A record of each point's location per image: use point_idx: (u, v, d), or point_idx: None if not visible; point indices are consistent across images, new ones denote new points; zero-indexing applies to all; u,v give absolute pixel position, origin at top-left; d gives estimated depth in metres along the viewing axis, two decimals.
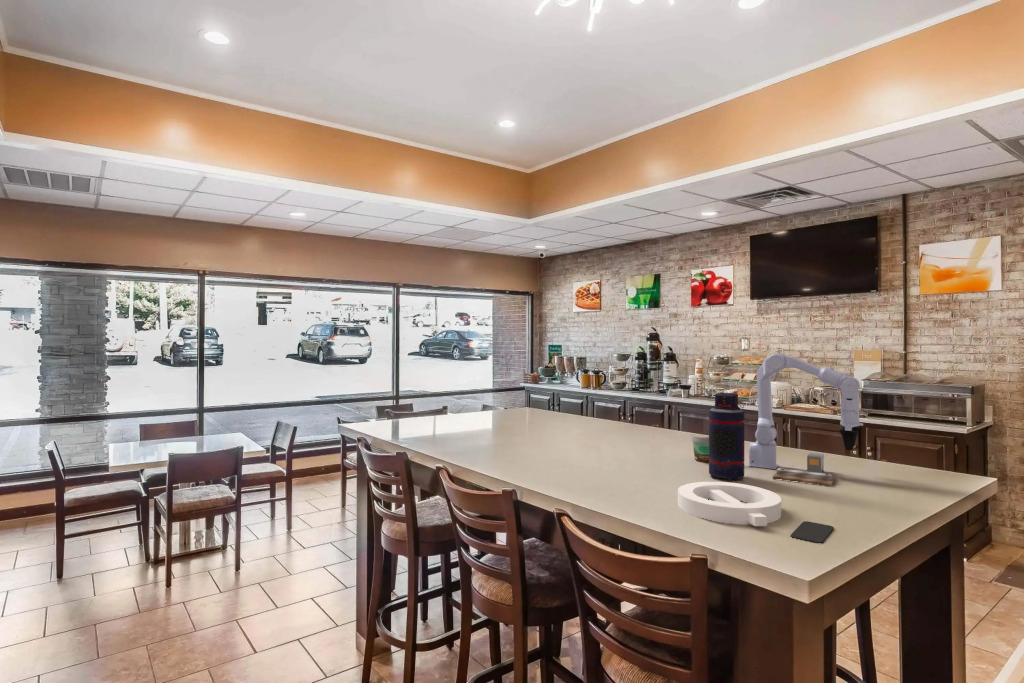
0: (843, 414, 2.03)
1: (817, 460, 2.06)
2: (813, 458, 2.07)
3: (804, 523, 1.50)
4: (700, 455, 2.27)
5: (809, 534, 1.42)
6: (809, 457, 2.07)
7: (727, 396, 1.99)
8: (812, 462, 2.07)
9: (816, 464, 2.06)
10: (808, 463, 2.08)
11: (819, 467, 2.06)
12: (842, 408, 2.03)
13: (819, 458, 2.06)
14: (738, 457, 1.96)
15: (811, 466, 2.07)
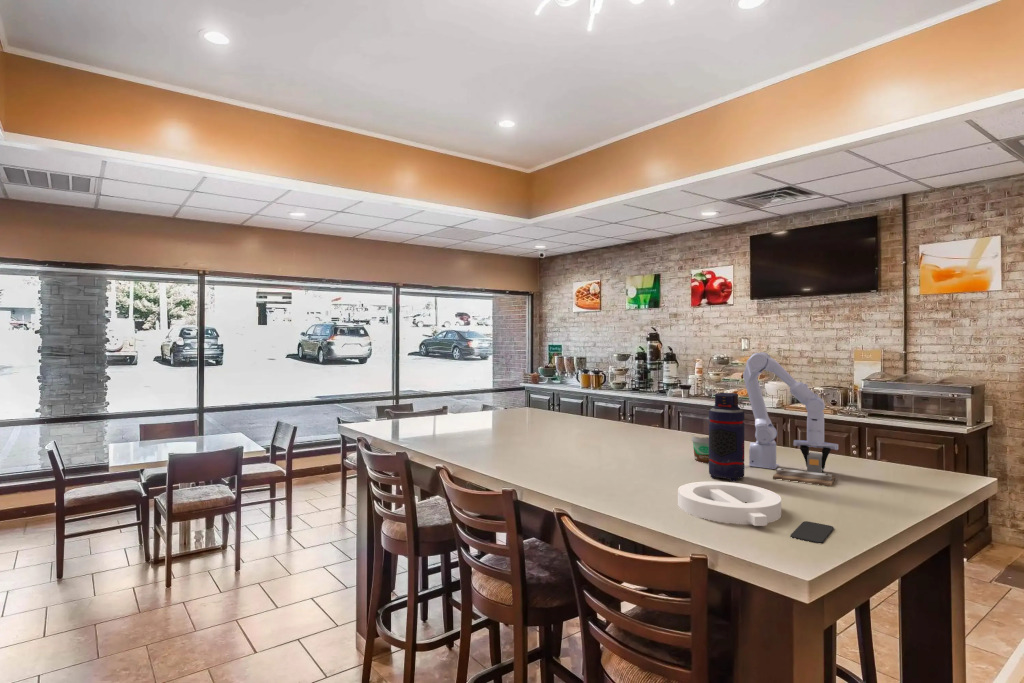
0: None
1: (817, 460, 2.06)
2: (813, 458, 2.07)
3: (804, 523, 1.50)
4: (700, 455, 2.27)
5: (809, 534, 1.42)
6: (809, 457, 2.07)
7: (727, 396, 1.99)
8: (812, 462, 2.07)
9: (816, 464, 2.06)
10: (808, 463, 2.08)
11: (819, 467, 2.06)
12: (808, 428, 2.10)
13: (819, 458, 2.06)
14: (738, 456, 1.96)
15: (811, 466, 2.07)
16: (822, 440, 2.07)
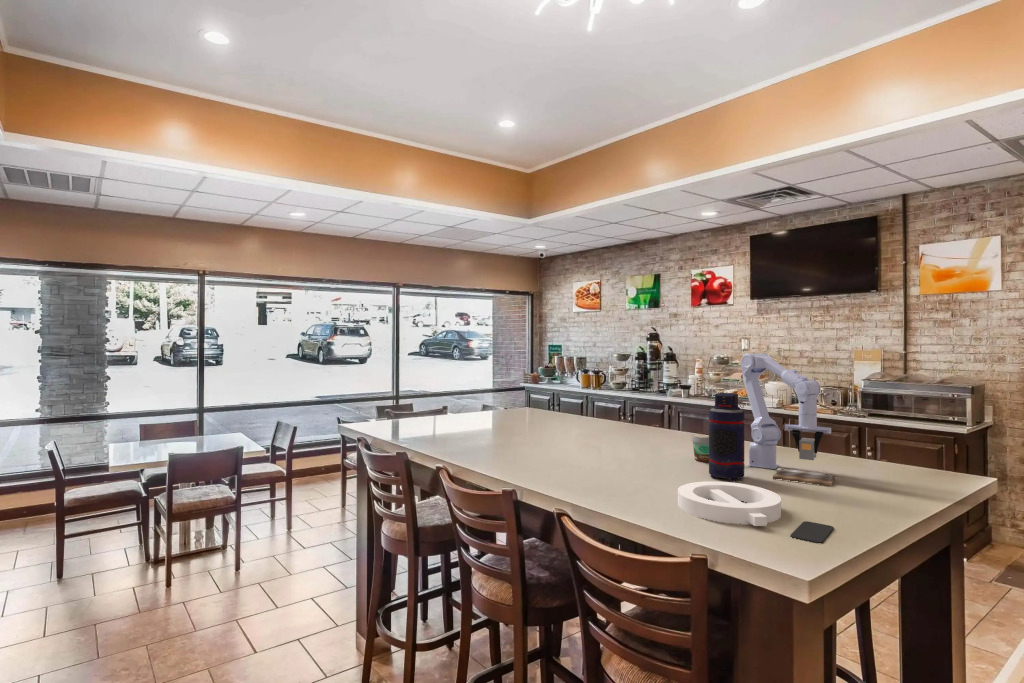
0: None
1: (810, 445, 1.99)
2: (805, 443, 2.00)
3: (804, 523, 1.50)
4: (700, 455, 2.27)
5: (809, 534, 1.42)
6: (801, 442, 2.00)
7: (727, 396, 1.99)
8: (804, 447, 2.00)
9: (808, 449, 1.99)
10: (800, 448, 2.00)
11: (812, 452, 1.99)
12: None
13: (812, 442, 1.99)
14: (738, 456, 1.96)
15: (803, 451, 2.00)
16: (814, 424, 2.00)
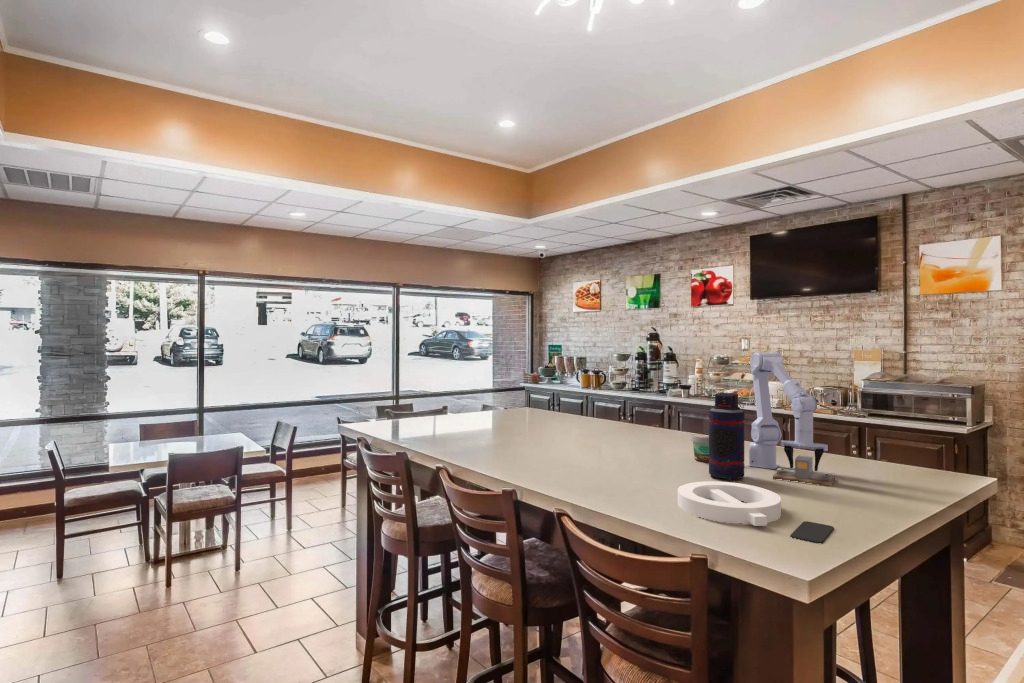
0: None
1: (805, 463, 1.96)
2: (801, 461, 1.97)
3: (804, 523, 1.50)
4: (700, 455, 2.27)
5: (809, 534, 1.42)
6: (797, 460, 1.97)
7: (727, 396, 1.99)
8: (800, 465, 1.97)
9: (804, 467, 1.96)
10: (796, 466, 1.97)
11: (807, 471, 1.96)
12: None
13: (807, 461, 1.95)
14: (738, 456, 1.96)
15: (799, 470, 1.97)
16: (811, 440, 1.97)
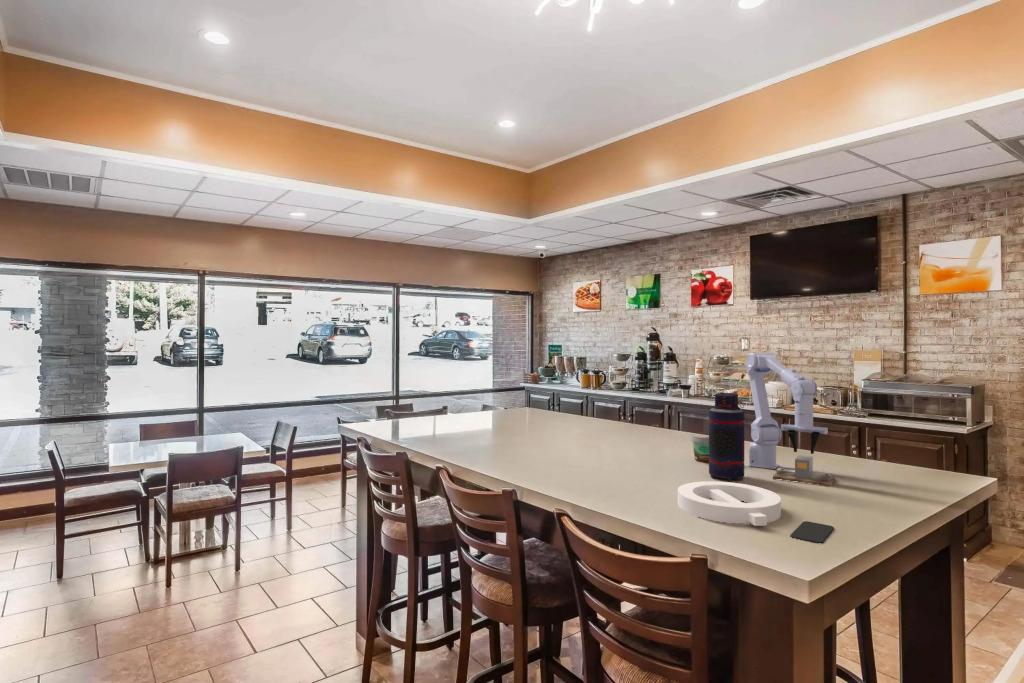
0: None
1: (805, 463, 1.96)
2: (801, 461, 1.97)
3: (804, 523, 1.50)
4: (700, 455, 2.27)
5: (809, 534, 1.42)
6: (797, 460, 1.97)
7: (727, 396, 1.99)
8: (800, 465, 1.97)
9: (804, 467, 1.96)
10: (796, 466, 1.97)
11: (807, 471, 1.96)
12: None
13: (807, 461, 1.95)
14: (738, 457, 1.96)
15: (799, 470, 1.97)
16: (811, 424, 1.97)
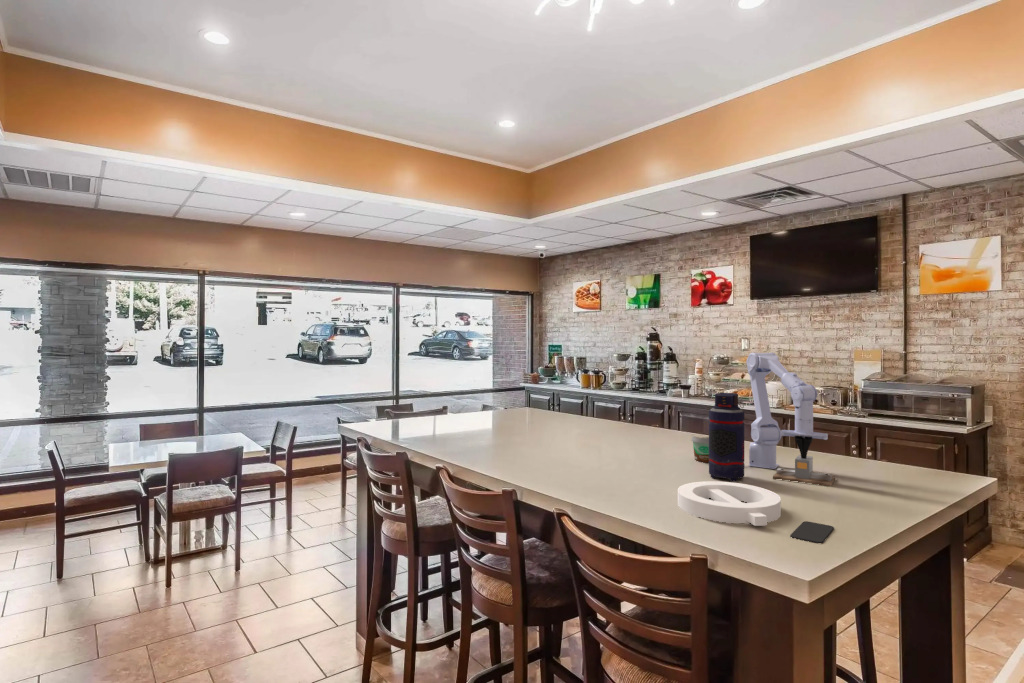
0: None
1: (805, 463, 1.96)
2: (801, 461, 1.97)
3: (804, 523, 1.50)
4: (700, 455, 2.27)
5: (809, 534, 1.42)
6: (797, 460, 1.97)
7: (727, 396, 1.99)
8: (800, 465, 1.97)
9: (804, 467, 1.96)
10: (796, 466, 1.97)
11: (807, 471, 1.96)
12: None
13: (807, 461, 1.95)
14: (738, 456, 1.96)
15: (799, 470, 1.97)
16: (811, 429, 1.97)
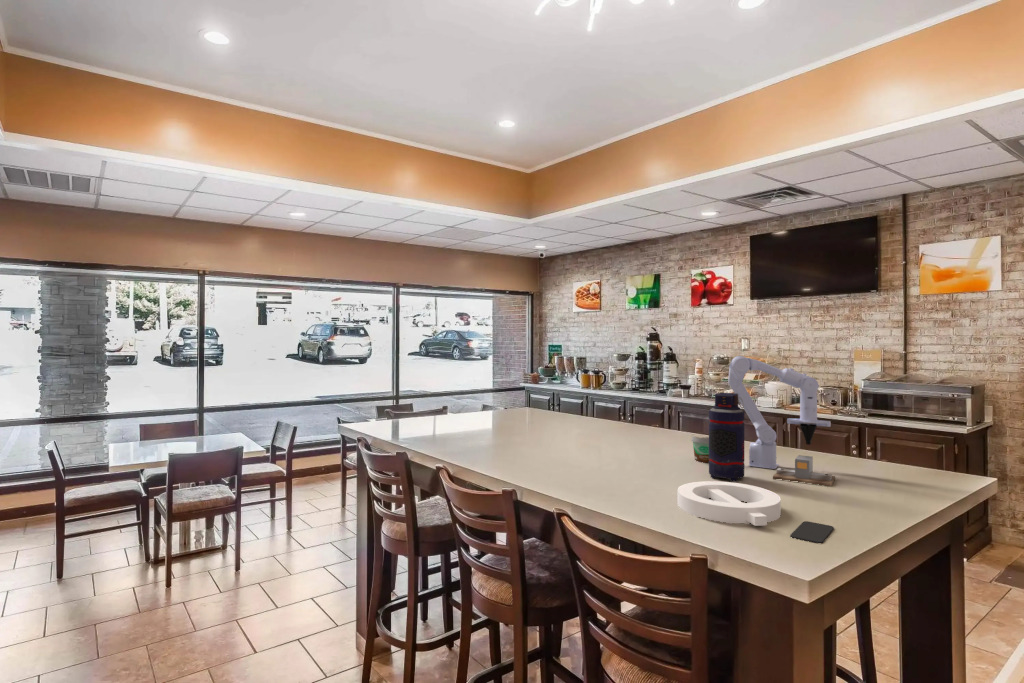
0: None
1: (805, 463, 1.96)
2: (801, 461, 1.97)
3: (804, 523, 1.50)
4: (700, 455, 2.27)
5: (809, 534, 1.42)
6: (797, 460, 1.97)
7: (727, 396, 1.99)
8: (800, 465, 1.97)
9: (804, 467, 1.96)
10: (796, 466, 1.97)
11: (807, 471, 1.96)
12: (803, 406, 2.14)
13: (807, 461, 1.95)
14: (738, 456, 1.96)
15: (799, 470, 1.97)
16: (815, 417, 2.13)
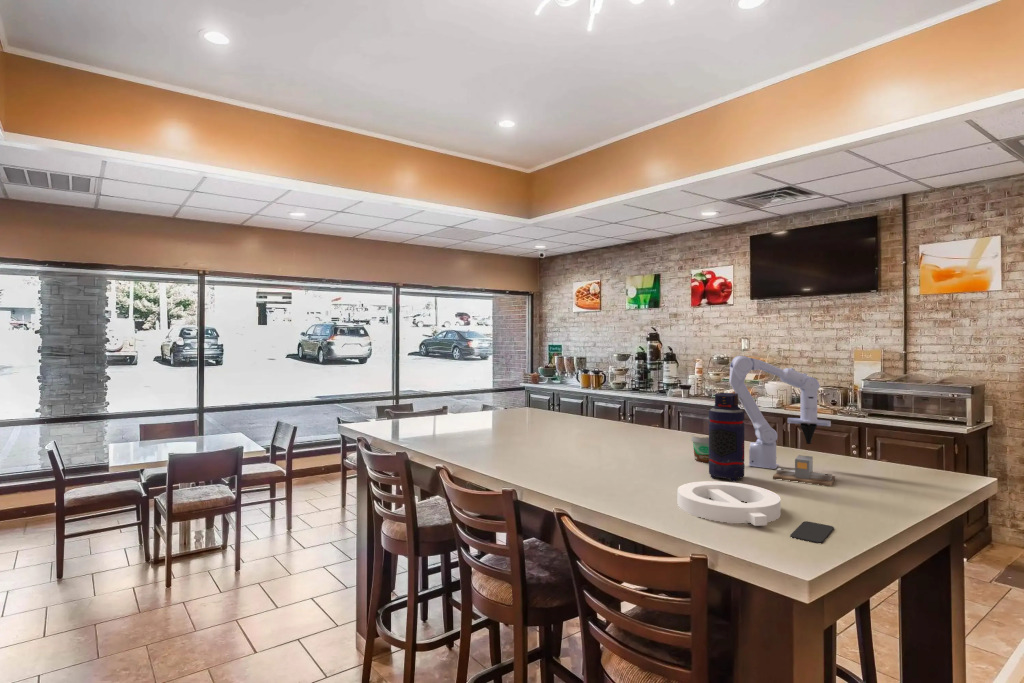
0: None
1: (805, 463, 1.96)
2: (801, 461, 1.97)
3: (804, 523, 1.50)
4: (700, 455, 2.27)
5: (809, 534, 1.42)
6: (797, 460, 1.97)
7: (727, 396, 1.99)
8: (800, 465, 1.97)
9: (804, 467, 1.96)
10: (796, 466, 1.97)
11: (807, 471, 1.96)
12: (803, 406, 2.15)
13: (807, 461, 1.95)
14: (738, 456, 1.96)
15: (799, 470, 1.97)
16: (815, 417, 2.14)
